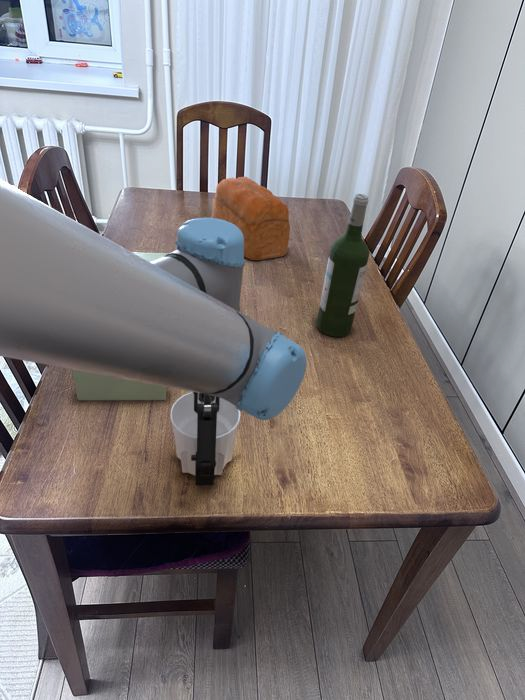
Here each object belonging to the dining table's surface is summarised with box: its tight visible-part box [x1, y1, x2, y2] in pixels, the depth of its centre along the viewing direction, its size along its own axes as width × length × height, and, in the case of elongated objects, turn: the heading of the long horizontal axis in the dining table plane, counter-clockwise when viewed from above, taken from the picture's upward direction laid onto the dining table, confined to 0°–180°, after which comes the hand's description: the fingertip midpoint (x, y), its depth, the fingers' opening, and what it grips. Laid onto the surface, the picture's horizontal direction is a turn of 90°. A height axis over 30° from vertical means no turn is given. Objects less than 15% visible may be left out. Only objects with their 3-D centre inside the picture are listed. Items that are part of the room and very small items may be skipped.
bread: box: [210, 176, 291, 261], centre depth 137 cm, size 14×27×15 cm, turn 29°
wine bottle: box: [316, 193, 370, 338], centre depth 100 cm, size 8×8×30 cm
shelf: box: [71, 251, 170, 401], centre depth 97 cm, size 39×15×11 cm, turn 5°
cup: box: [170, 391, 242, 476], centre depth 73 cm, size 10×10×10 cm
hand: (204, 455), depth 76 cm, fingers closed on cup, 10 cm apart
